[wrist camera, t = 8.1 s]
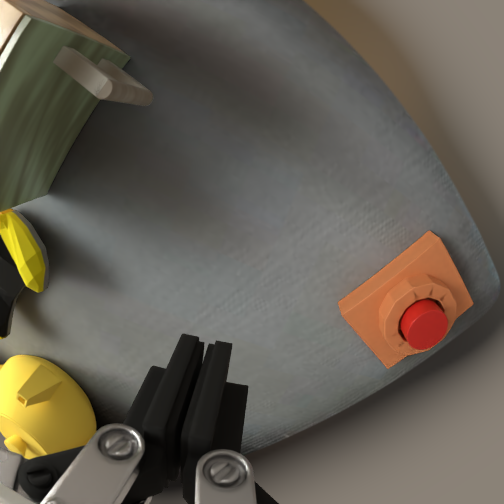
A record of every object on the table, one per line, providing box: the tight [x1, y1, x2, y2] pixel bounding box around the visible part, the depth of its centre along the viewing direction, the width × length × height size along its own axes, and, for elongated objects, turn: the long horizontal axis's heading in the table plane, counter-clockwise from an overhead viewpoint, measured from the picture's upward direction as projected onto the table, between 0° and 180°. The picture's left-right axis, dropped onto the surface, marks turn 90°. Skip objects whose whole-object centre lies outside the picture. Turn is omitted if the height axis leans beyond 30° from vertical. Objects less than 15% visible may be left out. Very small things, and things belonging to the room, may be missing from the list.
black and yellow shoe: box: [0, 209, 49, 339], centre depth 26 cm, size 15×6×10 cm
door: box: [0, 14, 153, 212], centre depth 17 cm, size 6×15×12 cm, turn 139°
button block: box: [338, 231, 473, 369], centre depth 24 cm, size 10×8×4 cm
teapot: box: [0, 355, 96, 459], centre depth 29 cm, size 17×17×12 cm
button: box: [400, 300, 448, 350], centre depth 22 cm, size 4×4×2 cm
